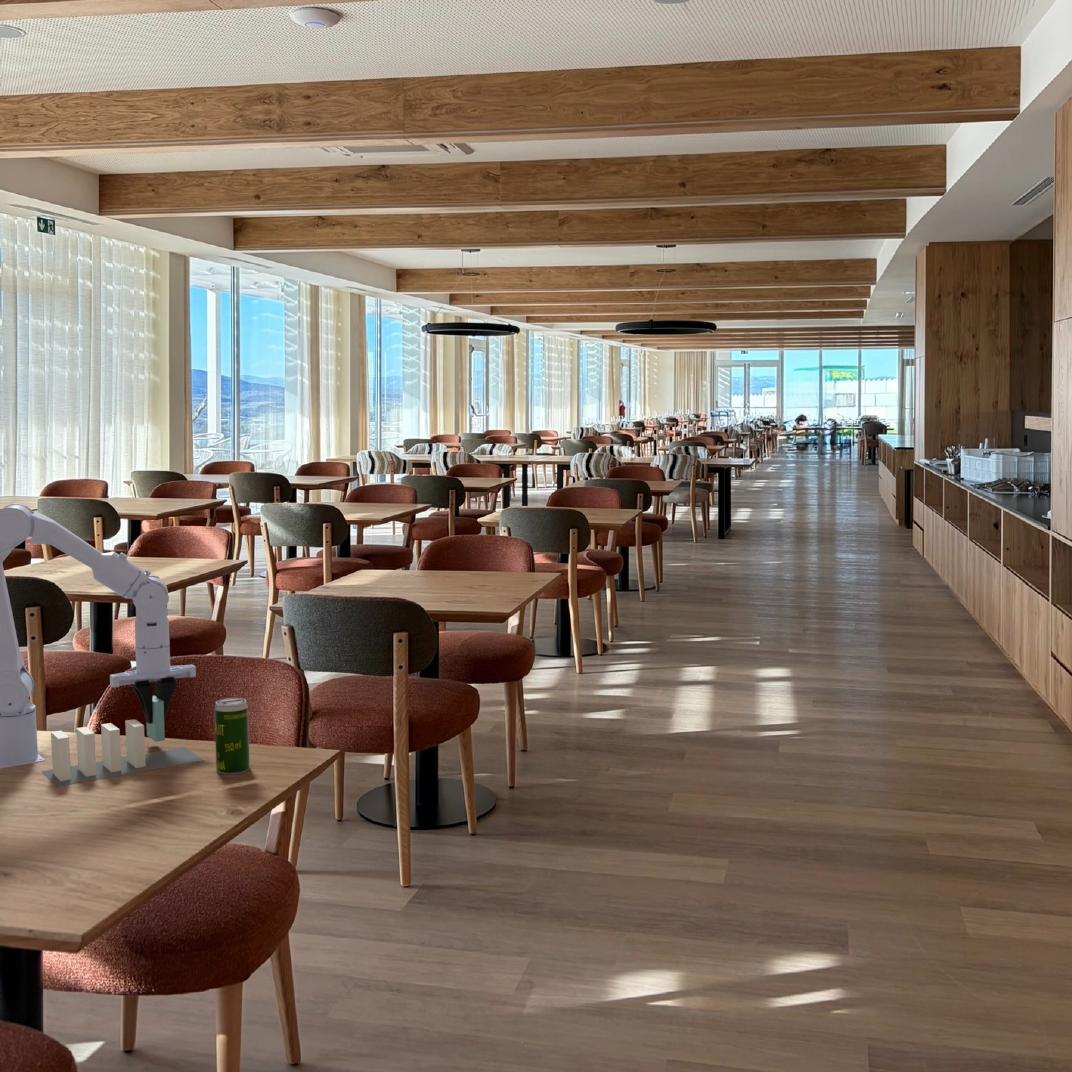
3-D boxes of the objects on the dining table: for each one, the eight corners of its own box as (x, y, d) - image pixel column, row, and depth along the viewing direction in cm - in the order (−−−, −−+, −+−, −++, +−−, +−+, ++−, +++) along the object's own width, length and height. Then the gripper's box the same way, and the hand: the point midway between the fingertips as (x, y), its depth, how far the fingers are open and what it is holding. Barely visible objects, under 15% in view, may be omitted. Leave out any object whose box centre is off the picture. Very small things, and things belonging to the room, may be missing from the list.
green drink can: (242, 765, 198) (239, 696, 197) (255, 773, 194) (253, 702, 193) (211, 771, 195) (209, 700, 194) (224, 779, 191) (221, 707, 190)
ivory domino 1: (60, 781, 189) (58, 738, 188) (52, 773, 193) (50, 732, 192) (70, 779, 190) (68, 737, 189) (63, 771, 194) (61, 730, 193)
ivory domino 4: (135, 768, 196) (134, 726, 195) (127, 760, 200) (125, 720, 199) (145, 766, 197) (143, 725, 196) (136, 759, 201) (134, 719, 200)
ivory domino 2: (86, 776, 191) (84, 734, 190) (78, 769, 195) (76, 728, 194) (96, 775, 192) (94, 733, 191) (88, 767, 196) (86, 726, 195)
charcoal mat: (41, 774, 194) (41, 771, 194) (184, 749, 208) (184, 747, 208) (56, 789, 186) (56, 786, 186) (204, 763, 200) (204, 760, 200)
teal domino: (155, 741, 205) (154, 702, 205) (146, 735, 210) (145, 696, 209) (164, 740, 206) (163, 701, 206) (155, 734, 210) (154, 695, 210)
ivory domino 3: (111, 772, 193) (109, 730, 193) (102, 765, 197) (101, 724, 197) (121, 770, 194) (119, 729, 194) (112, 763, 198) (110, 722, 198)
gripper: (117, 654, 199) (120, 732, 200) (200, 644, 207) (203, 719, 209) (105, 647, 205) (108, 724, 206) (187, 638, 213) (189, 711, 214)
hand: (155, 721), depth 208 cm, fingers closed on teal domino, 1 cm apart
